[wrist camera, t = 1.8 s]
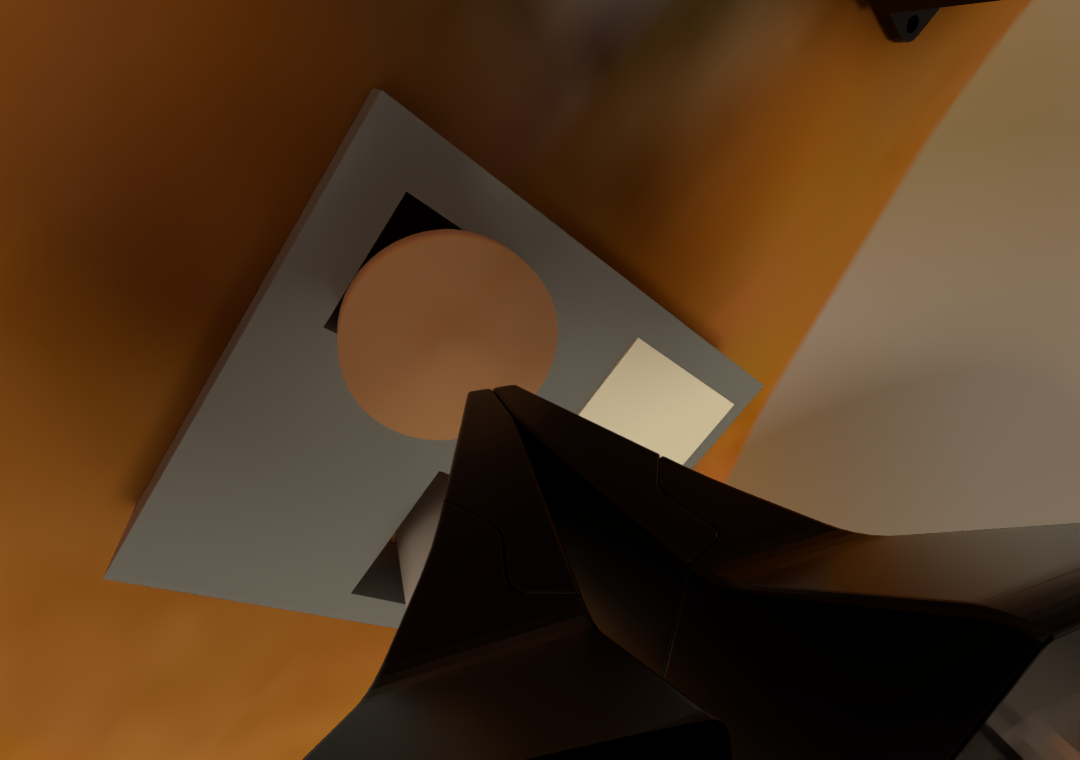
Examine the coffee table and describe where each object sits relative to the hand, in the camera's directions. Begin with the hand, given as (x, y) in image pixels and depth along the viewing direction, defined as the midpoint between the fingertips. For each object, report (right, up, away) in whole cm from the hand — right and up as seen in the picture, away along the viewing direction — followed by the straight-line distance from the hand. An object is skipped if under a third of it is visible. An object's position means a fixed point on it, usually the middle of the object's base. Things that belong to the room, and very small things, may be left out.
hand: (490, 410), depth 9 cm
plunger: (-2, +3, +5) cm, 6 cm away
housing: (-2, -1, +10) cm, 11 cm away
